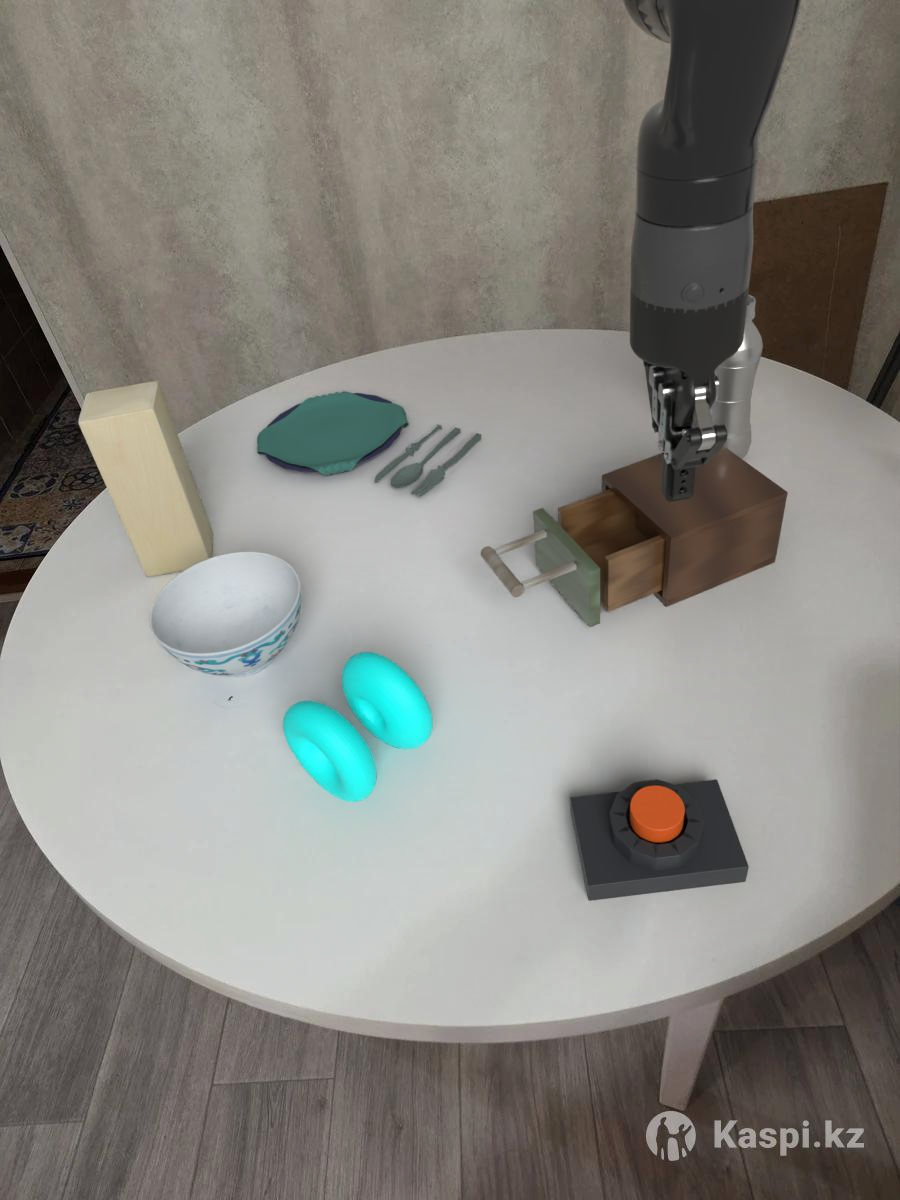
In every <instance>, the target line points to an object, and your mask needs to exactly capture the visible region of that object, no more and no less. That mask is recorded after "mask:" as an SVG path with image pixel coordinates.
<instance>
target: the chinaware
mask: <svg viewBox="0 0 900 1200" xmlns="http://www.w3.org/2000/svg"><path fill="white" fill-rule="evenodd" d="M301 608H302V587H301V582H300V577H299V575H298V573H297V571H296V570H295V568H294V567H293V566H292V565H291V564H290V562H289V563H288V562H287V561H286V560H284V559H283V558H281V557H279V556H276V555H273V554H271V553H267V552H261V551H235V552H229V553H223V554H220V555H216V556H212V558H209V559H207V560H204V561H202V562H199V563H197V564H195V565H193V566H191V567H189V568H188V569H186V570H184V571H180V572H179V573H178V574H177V575H176V576H174V577H173V578H172V579H170V581H168V582H167V584H165V586H164V587H163V588H162V589H161V590H160V591H159V592H158V594H157V596H156V597H155V599H154V601H153V603H152V606H151V608H150V611H149V627H150V631H151V633H152V635H153V636H154V638H155V639H156V641H157V642H158V643H159V645H160V646H161V647H162V648H163V649H164V651H166V652H167V653H168V654H169V655H170V656H171V657H173V658H174V659H175V660H176V661H178V663H179V662H180V663H181V664H182V665H184V666H185V667H188V668H189V669H192V670H194V671H197V672H200V673H204V674H207V675H214V676H227V677H233V678H242V677H248V676H251V675H254V674H257V673H258V672H259V673H260V671H262V670H264V669H266V668H267V667H268V666H269V665H270V664H271V663H273V661H274V659H275V658H276V657H277V655H279V654H280V653H281V652H282V651H283V649H284V648H285V647H286V646H287V645H288V643H289V641H290V640H291V639H292V636H293V635H294V632H295V630H296V627H297V625H298V623H299V619H300V614H301Z"/></svg>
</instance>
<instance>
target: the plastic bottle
mask: <svg viewBox="0 0 900 1200" xmlns="http://www.w3.org/2000/svg"><path fill="white" fill-rule="evenodd" d="M756 300H757V299H756V297H755V296H752V295H751V294H748V301H747V310H746V320H745V329H744V338H743V343H742V345H741V347H740V349H739V350H738V351H737V352H736V353H735V354H734V355H733V356H732V357H730V358H728V359H727V360H725V361H724V362H723V363H721V364H720V365H719V366H718V367H717V368H716V370H715V372H714V373H715V375H717V376H718V379H719V394H718V399H717V400H716V401H715V403H714V406H713V415H712V423H713V424H718V425H721V424H724V425H725V427H726V430H727V433H728V435H727V440H726V442H725V444H724V445H723V446H725V447H726V448H727V449H729V450H730V451H731V452H733V453H734V454H736V455H737V456H738V457H740V458H741V459H743V460H744V458H745V457H746V456H747V454H748V453H749V450H750V447H751V444H752V424H751V410H752V409H751V405H752V396H753V390H754V384H755V379H756V375H757V371H758V368H759V365H760V362H761V357H762V354H763V349H764V343H763V337H762V336H761V334H760V332H759V330H758V328H757V326H756V325H755V323H754V322H753V320H754V319H755V317H756V304H757V301H756Z"/></svg>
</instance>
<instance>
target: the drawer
mask: <svg viewBox="0 0 900 1200" xmlns="http://www.w3.org/2000/svg"><path fill="white" fill-rule="evenodd" d="M532 516H533V517H532V519H533V520H532V521H533V533H531V534H528V535H526V536H522V537H520V538H518V539H515V540H512V541H510V542H507V543H504V544H500V545H499V546H496V547H492V546H490V545H488V546H487V545H486V546H483V548H482V549H481V550H480V554H479V555H480V557H481V559H483V561H484V562H485V564H486V565H487V566H488V567H489V568H490V570H491V571H492V572H493V574H495V576H496V577H497V579H498V580H499V581H500V582H501V584H502V585H503V587H505V589H506V590H507V591H508V592H509V594H510V595H511V596H512V597H513V598H519V597H521V596H522V595H523V594H524V593H525V590H527V589H530V588H532V587H536V586H537V585H540V584H543V583H545V582H550V583H551V584H552V585H553V586H554V587H555V589H557V591H558V592H559V593H560V595H562V596H563V598H564V599H565V600H566V601H567V602H568V603H569V605H570V606H571V607H572V608H573V609H574V610H575V612H576V613H577V614H578V615H579V616H580V618H582V620H583V621H584V622H585V623H586V624H587V626H588V627H589V628H592V627H594V626H597V625H599V624H601V607H602V608H603V609H604V610H605V611H606V612H607V613H610V612H612V611H614V610H617V609H619V608H621V607H624V606H627V605H630V604H631V603H634V602H637V601H639V600H642V599H644V598H646V597H649V596H651V595H654V593H656V592H659V591H661V590H663V580H664V565H665V550H666V539H665V538H664V537H663V536H661V535H660V534H659V533H658V532H657V531H656V530H655V529H654V528H653V527H652V526H651V525H649V524H648V523H647V522H646V521H645V520H644V519H643V518H642V517H641V516H640V515H639V514H637V513H636V512H635V511H634V510H633V509H632V508H631V507H630V506H629V505H628V504H626V503H625V502H624V501H623V500H622V499H621V498H620V497H619V496H618V495H617V494H616V493H614V492H613V491H612V490H611V489H608V490H606V491H603V492H602V491H599V492H597V493H594V494H592V495H589V496H587V497H584V498H581V499H579V500H576V501H573V502H571V503H568V504H565V505H563V506H560V507H557V521H556V519H554V518H553V517H552V515H551V514H550V513H549V512H548V511H547V510H546V509H545V508H544V507H540V508H538V509H535V510H533V511H532ZM531 543H534V550H535V563H536V564H535V565H536V566H537V567H538V569H539V570H540V571H541V572H542V573H541V574H539V575H536V576H534V577H530V578H528V579H526V580H523V581H520V580H519V579H518V578H517V577H516V575H515V574H514V572H512V570H511V569H510V568H509V566H508V565H507V564H506V563H505V562H504V560H503V559H502V557H500V555H502V554H505V553H508V552H511V551H513V550H516V549H519V548H521V547H523V546H527V545H529V544H531Z"/></svg>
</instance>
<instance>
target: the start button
mask: <svg viewBox="0 0 900 1200" xmlns="http://www.w3.org/2000/svg"><path fill="white" fill-rule="evenodd" d="M684 813H685V808H684V804H683V801H682V800H681V798H680V797H679V796H678V795H677V794H676V793H675V792H674V791H672V790H671V789H669V788H666V787H663V786H656V785H653V786H647V787H644V788H642V789H640V790H639V791H637V792H636V793H635V794H634V796H633V797H632V799H631V803H630V823H631V826H632V828H633V830H634V831H635V832H636V833H637V834H638V835H639V836H640V837H642V838H643V839H645V840H647V841H650V842H655V843H663V842H668V841H670V840H672V839H674V838H675V837H677V836H678V835H679V834H680V832H681V830H682V828H683V822H684Z"/></svg>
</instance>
